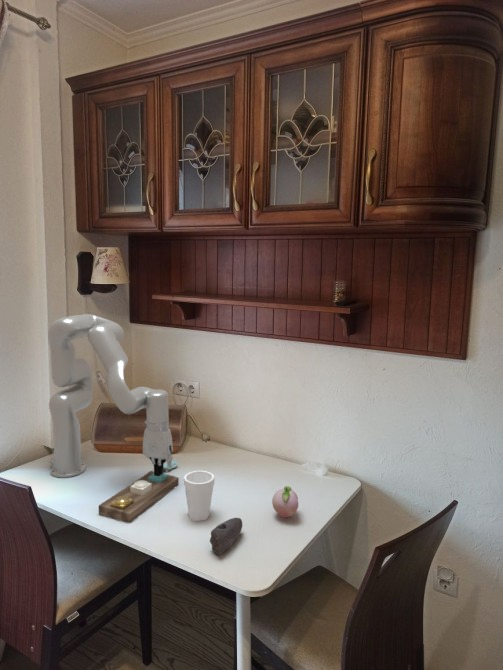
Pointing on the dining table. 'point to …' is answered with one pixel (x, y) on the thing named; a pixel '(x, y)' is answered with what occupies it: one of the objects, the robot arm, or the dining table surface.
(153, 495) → the button panel
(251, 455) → the dining table surface
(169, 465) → the pacifier
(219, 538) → the perforated stone tool
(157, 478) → the teal button
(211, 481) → the foam cup
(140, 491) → the cream button
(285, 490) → the decorative fruit
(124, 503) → the brass button
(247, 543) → the dining table surface
